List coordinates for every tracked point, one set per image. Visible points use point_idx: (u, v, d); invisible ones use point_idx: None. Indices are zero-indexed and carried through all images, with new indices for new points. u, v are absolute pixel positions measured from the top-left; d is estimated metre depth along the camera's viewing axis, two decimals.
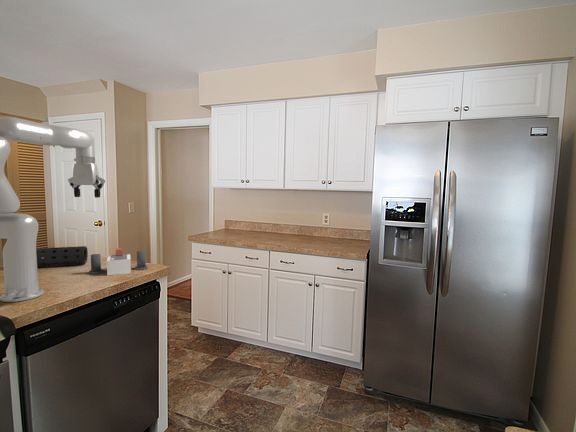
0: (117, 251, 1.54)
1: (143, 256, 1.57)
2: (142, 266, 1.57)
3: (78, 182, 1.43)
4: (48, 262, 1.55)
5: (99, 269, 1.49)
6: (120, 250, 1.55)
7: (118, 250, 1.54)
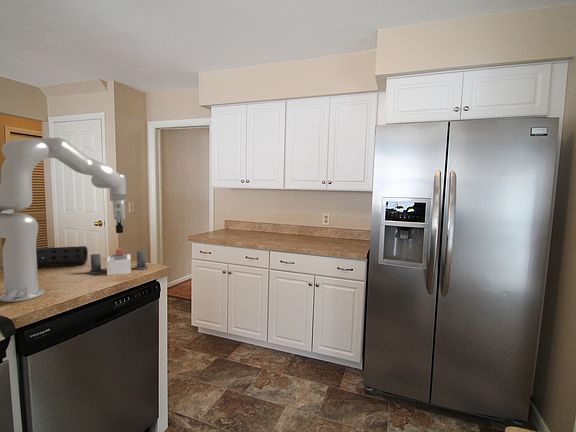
0: (117, 251, 1.54)
1: (143, 256, 1.57)
2: (142, 266, 1.57)
3: None
4: (48, 262, 1.55)
5: (99, 269, 1.49)
6: (120, 250, 1.55)
7: (118, 250, 1.54)
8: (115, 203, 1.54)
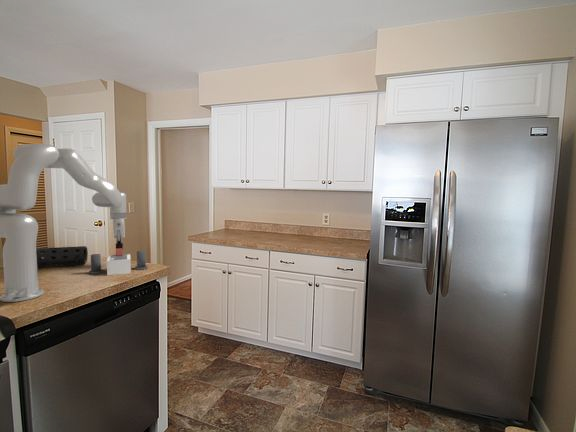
0: (117, 251, 1.54)
1: (143, 256, 1.57)
2: (142, 266, 1.57)
3: None
4: (48, 262, 1.55)
5: (99, 269, 1.49)
6: (120, 250, 1.55)
7: (118, 250, 1.54)
8: (115, 221, 1.55)
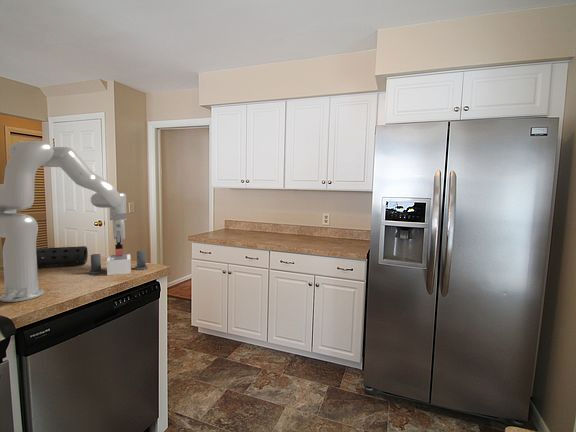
0: (117, 252, 1.53)
1: (143, 256, 1.57)
2: (142, 266, 1.57)
3: None
4: (48, 262, 1.55)
5: (99, 269, 1.49)
6: (120, 250, 1.54)
7: (118, 250, 1.53)
8: (115, 223, 1.52)
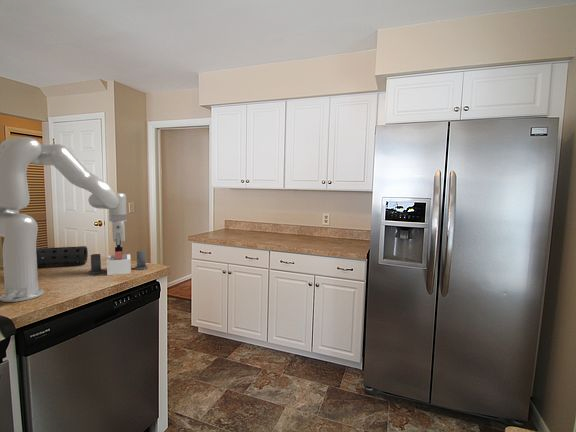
0: (117, 254, 1.47)
1: (143, 256, 1.57)
2: (142, 266, 1.57)
3: None
4: (48, 262, 1.55)
5: (99, 269, 1.49)
6: (120, 253, 1.48)
7: (118, 253, 1.47)
8: (115, 224, 1.45)
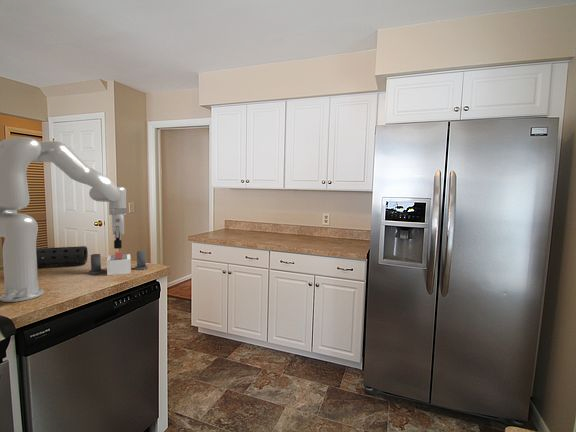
0: (117, 254, 1.47)
1: (143, 256, 1.57)
2: (142, 266, 1.57)
3: None
4: (48, 262, 1.55)
5: (99, 269, 1.49)
6: (120, 253, 1.48)
7: (118, 253, 1.47)
8: (114, 217, 1.48)
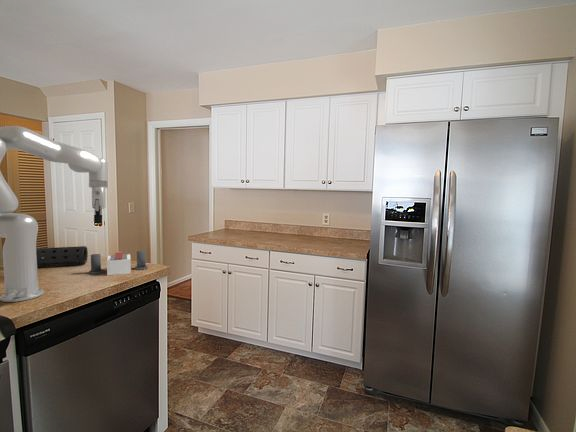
0: (117, 254, 1.47)
1: (143, 256, 1.57)
2: (142, 266, 1.57)
3: (104, 206, 1.45)
4: (48, 262, 1.55)
5: (99, 269, 1.49)
6: (120, 253, 1.48)
7: (118, 253, 1.47)
8: (94, 190, 1.41)
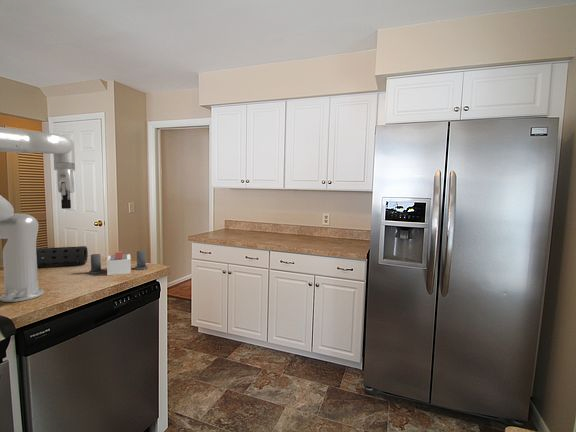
0: (117, 254, 1.47)
1: (143, 256, 1.57)
2: (142, 266, 1.57)
3: (72, 190, 1.35)
4: (48, 262, 1.55)
5: (99, 269, 1.49)
6: (120, 253, 1.48)
7: (118, 253, 1.47)
8: (59, 172, 1.31)
